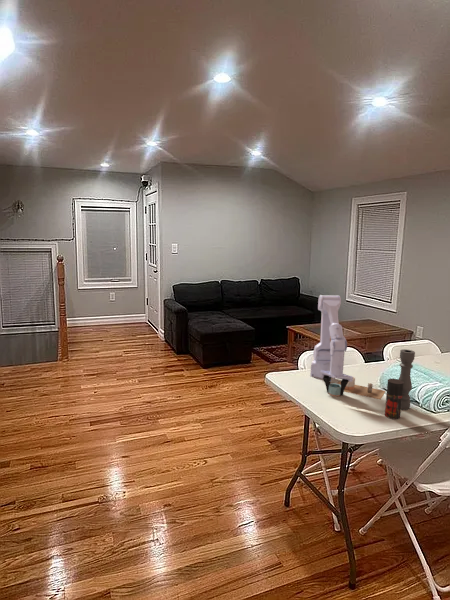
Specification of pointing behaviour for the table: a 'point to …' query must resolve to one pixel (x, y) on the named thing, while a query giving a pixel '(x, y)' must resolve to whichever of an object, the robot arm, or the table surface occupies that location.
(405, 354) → the candle holder
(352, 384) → the ivory sleeve
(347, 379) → the robot arm
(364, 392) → the pin board
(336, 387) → the teal sleeve
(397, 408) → the deodorant
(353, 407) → the table surface
